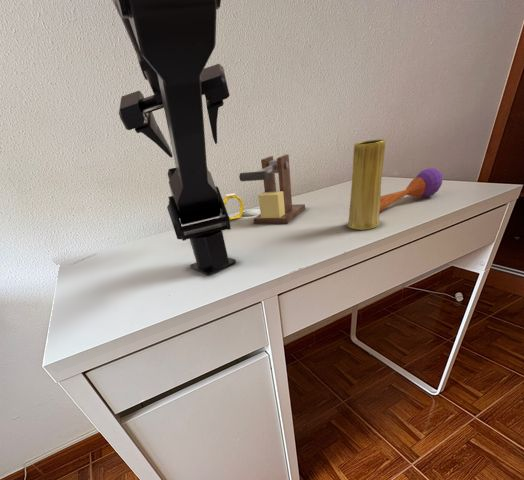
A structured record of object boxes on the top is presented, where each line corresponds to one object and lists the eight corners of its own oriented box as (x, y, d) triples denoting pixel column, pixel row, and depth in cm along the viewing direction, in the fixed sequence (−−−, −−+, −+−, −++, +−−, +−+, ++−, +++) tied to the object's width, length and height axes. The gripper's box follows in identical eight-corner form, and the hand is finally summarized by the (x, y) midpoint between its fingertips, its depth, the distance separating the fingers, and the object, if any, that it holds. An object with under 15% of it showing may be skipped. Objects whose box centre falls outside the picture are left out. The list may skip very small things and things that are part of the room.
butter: (279, 218, 69) (277, 194, 66) (261, 218, 71) (258, 195, 68) (285, 213, 71) (283, 191, 68) (266, 214, 73) (264, 192, 70)
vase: (384, 222, 60) (394, 137, 51) (369, 231, 57) (377, 143, 48) (357, 219, 64) (362, 140, 55) (342, 228, 61) (344, 145, 52)
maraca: (360, 193, 65) (425, 167, 70) (363, 221, 68) (425, 194, 73) (381, 190, 60) (448, 162, 65) (383, 220, 63) (448, 191, 68)
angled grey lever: (265, 182, 59) (263, 169, 58) (240, 184, 62) (238, 171, 60) (290, 169, 68) (289, 157, 66) (267, 171, 70) (266, 160, 69)
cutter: (287, 223, 68) (282, 159, 61) (254, 223, 72) (245, 163, 64) (305, 209, 76) (302, 150, 68) (274, 209, 80) (268, 154, 72)
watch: (227, 222, 76) (222, 197, 73) (222, 221, 78) (217, 196, 75) (246, 216, 79) (242, 192, 75) (241, 215, 80) (237, 191, 77)
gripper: (207, 1, 46) (235, 114, 60) (100, 40, 48) (150, 140, 62) (212, 27, 41) (241, 144, 55) (92, 70, 43) (149, 172, 57)
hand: (193, 149), depth 57 cm, fingers open, 9 cm apart
